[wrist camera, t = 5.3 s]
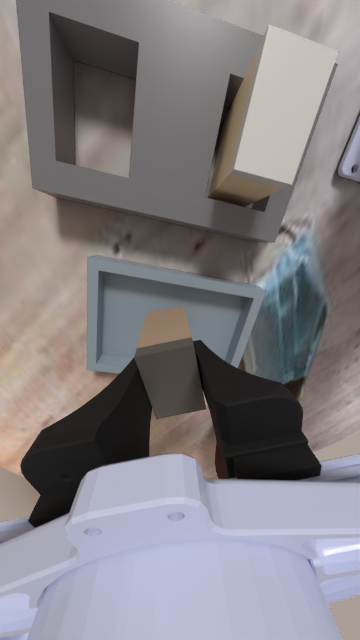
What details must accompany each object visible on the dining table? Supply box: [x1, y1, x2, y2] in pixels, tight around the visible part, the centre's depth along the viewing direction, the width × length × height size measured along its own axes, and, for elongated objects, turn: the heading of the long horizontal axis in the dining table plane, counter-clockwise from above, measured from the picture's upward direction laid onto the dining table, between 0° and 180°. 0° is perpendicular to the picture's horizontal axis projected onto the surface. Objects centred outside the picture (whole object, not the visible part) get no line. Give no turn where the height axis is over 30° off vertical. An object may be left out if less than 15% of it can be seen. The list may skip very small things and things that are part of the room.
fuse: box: [208, 24, 338, 207], centre depth 11 cm, size 3×4×6 cm, turn 169°
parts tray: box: [87, 255, 266, 374], centre depth 17 cm, size 14×10×2 cm
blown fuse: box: [134, 305, 206, 419], centre depth 13 cm, size 3×4×6 cm, turn 11°
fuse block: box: [16, 0, 337, 242], centre depth 12 cm, size 16×9×2 cm, turn 79°
